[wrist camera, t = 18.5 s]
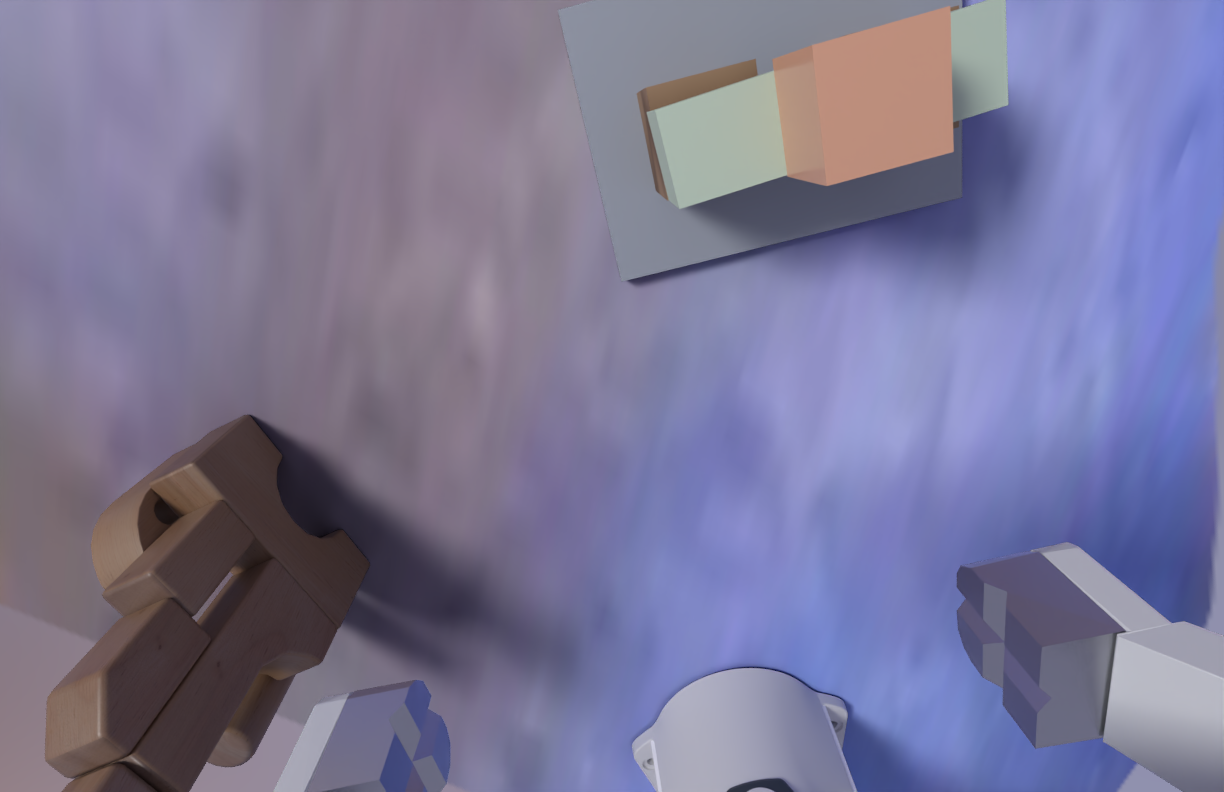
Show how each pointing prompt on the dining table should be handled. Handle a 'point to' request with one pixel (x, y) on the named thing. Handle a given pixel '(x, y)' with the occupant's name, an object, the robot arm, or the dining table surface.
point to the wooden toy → (222, 637)
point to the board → (703, 41)
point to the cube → (867, 100)
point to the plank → (750, 122)
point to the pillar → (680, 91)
